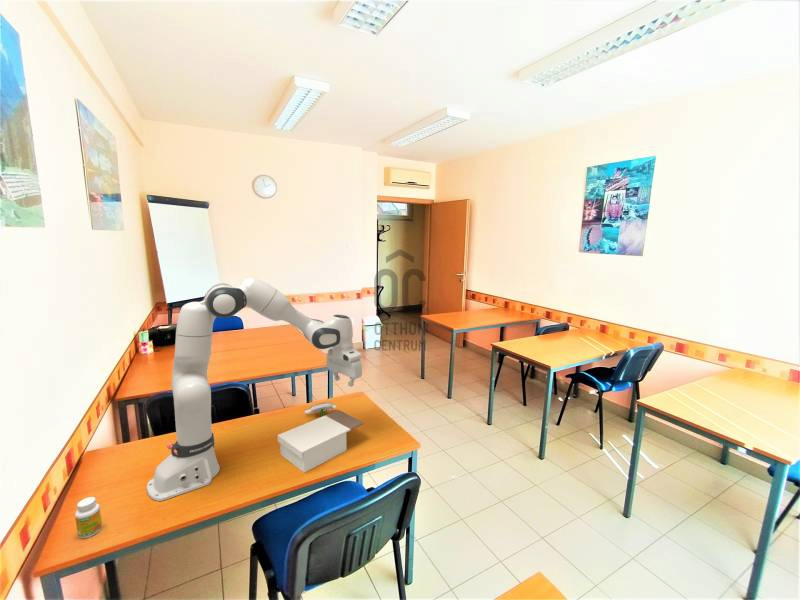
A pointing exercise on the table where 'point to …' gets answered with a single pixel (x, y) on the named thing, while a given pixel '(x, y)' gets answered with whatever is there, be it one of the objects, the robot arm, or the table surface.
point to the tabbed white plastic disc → (320, 408)
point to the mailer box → (316, 453)
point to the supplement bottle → (88, 518)
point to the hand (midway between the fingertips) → (344, 383)
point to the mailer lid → (318, 432)
